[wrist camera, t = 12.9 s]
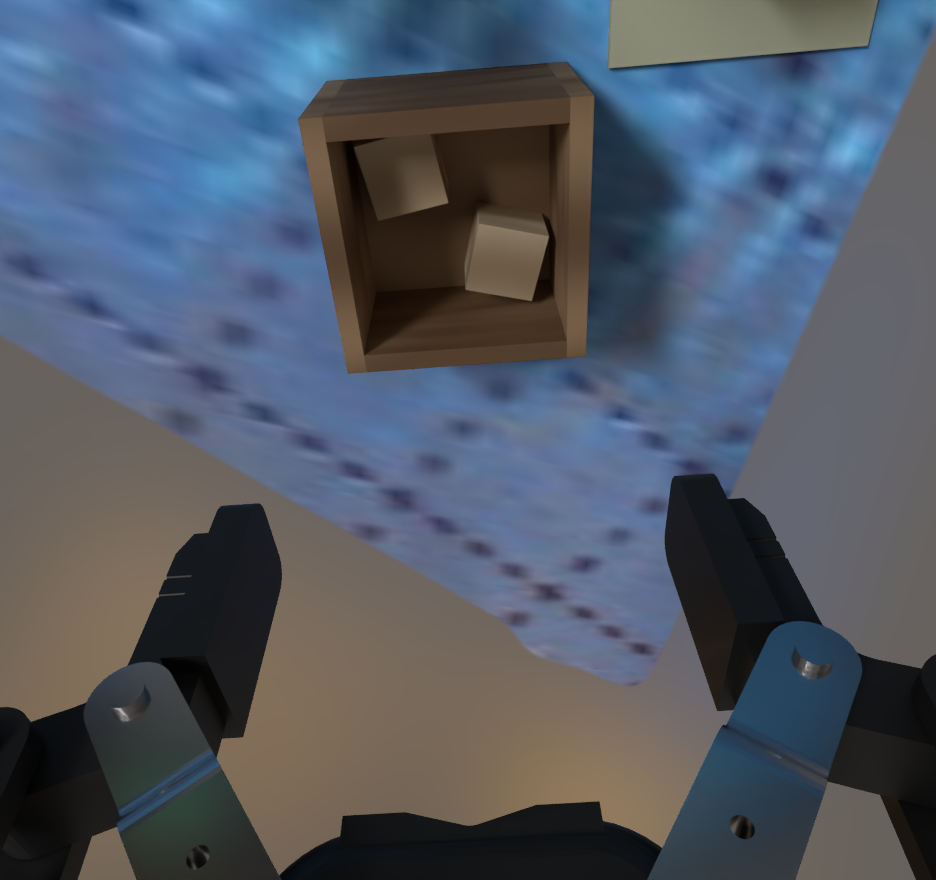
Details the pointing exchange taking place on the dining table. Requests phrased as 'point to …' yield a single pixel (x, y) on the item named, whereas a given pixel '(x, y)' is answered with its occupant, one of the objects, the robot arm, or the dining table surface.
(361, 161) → the maple block
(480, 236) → the maple block
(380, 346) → the box
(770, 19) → the lid
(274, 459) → the dining table surface
